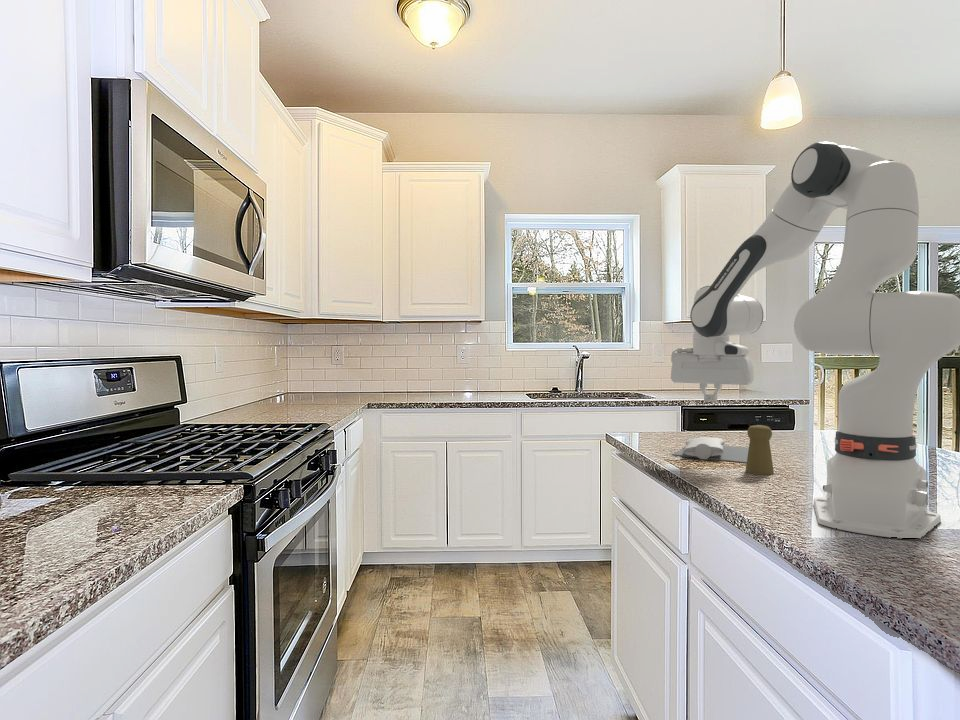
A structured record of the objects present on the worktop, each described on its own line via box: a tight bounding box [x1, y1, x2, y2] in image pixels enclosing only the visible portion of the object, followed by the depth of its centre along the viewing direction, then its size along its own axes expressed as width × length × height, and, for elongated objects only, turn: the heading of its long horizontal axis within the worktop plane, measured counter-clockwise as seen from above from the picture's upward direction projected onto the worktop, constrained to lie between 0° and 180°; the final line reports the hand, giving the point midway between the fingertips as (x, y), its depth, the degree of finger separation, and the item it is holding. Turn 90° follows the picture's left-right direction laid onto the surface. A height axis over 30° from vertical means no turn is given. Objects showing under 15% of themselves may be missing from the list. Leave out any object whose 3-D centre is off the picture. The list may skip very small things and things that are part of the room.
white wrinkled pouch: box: [683, 436, 726, 460], centre depth 166 cm, size 11×4×22 cm
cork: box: [745, 424, 775, 476], centre depth 140 cm, size 6×6×11 cm
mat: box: [671, 444, 749, 464], centre depth 164 cm, size 22×20×1 cm
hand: (710, 401), depth 156 cm, fingers closed
